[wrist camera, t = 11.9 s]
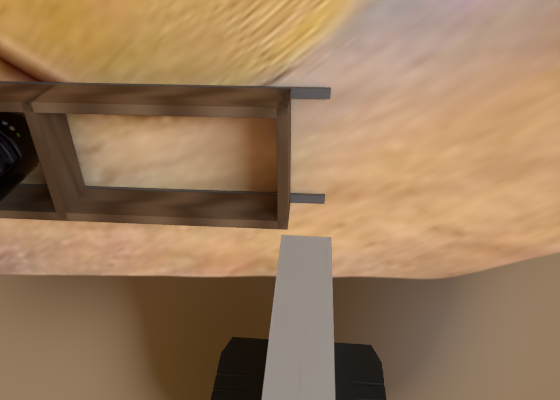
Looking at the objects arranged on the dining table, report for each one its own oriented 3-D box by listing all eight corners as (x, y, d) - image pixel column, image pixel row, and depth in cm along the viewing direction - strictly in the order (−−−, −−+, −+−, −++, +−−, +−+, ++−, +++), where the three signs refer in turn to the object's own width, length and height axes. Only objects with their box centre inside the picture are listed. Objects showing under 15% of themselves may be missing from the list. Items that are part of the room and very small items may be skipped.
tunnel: (333, 38, 34) (340, 128, 21) (322, 234, 44) (322, 381, 30) (-244, 31, 37) (-562, 105, 24) (-134, 216, 47) (-316, 342, 34)
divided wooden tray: (291, 88, 36) (287, 108, 33) (290, 203, 42) (287, 229, 38) (-68, 81, 38) (-106, 99, 35) (-22, 191, 44) (-51, 215, 40)
